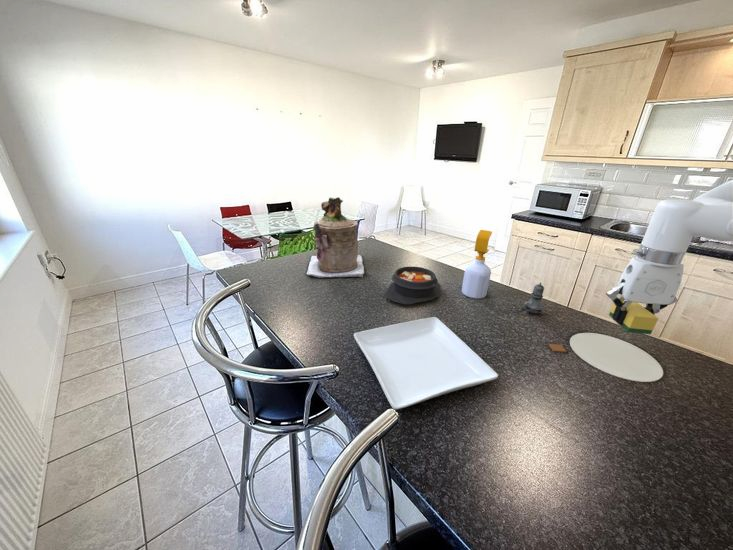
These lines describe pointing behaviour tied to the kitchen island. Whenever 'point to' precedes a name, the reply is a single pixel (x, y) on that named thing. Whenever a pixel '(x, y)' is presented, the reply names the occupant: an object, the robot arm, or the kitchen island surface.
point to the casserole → (413, 285)
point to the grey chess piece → (535, 301)
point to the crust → (557, 348)
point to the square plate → (421, 361)
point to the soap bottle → (478, 269)
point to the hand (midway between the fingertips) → (629, 322)
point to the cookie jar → (335, 244)
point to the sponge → (637, 319)
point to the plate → (616, 357)
